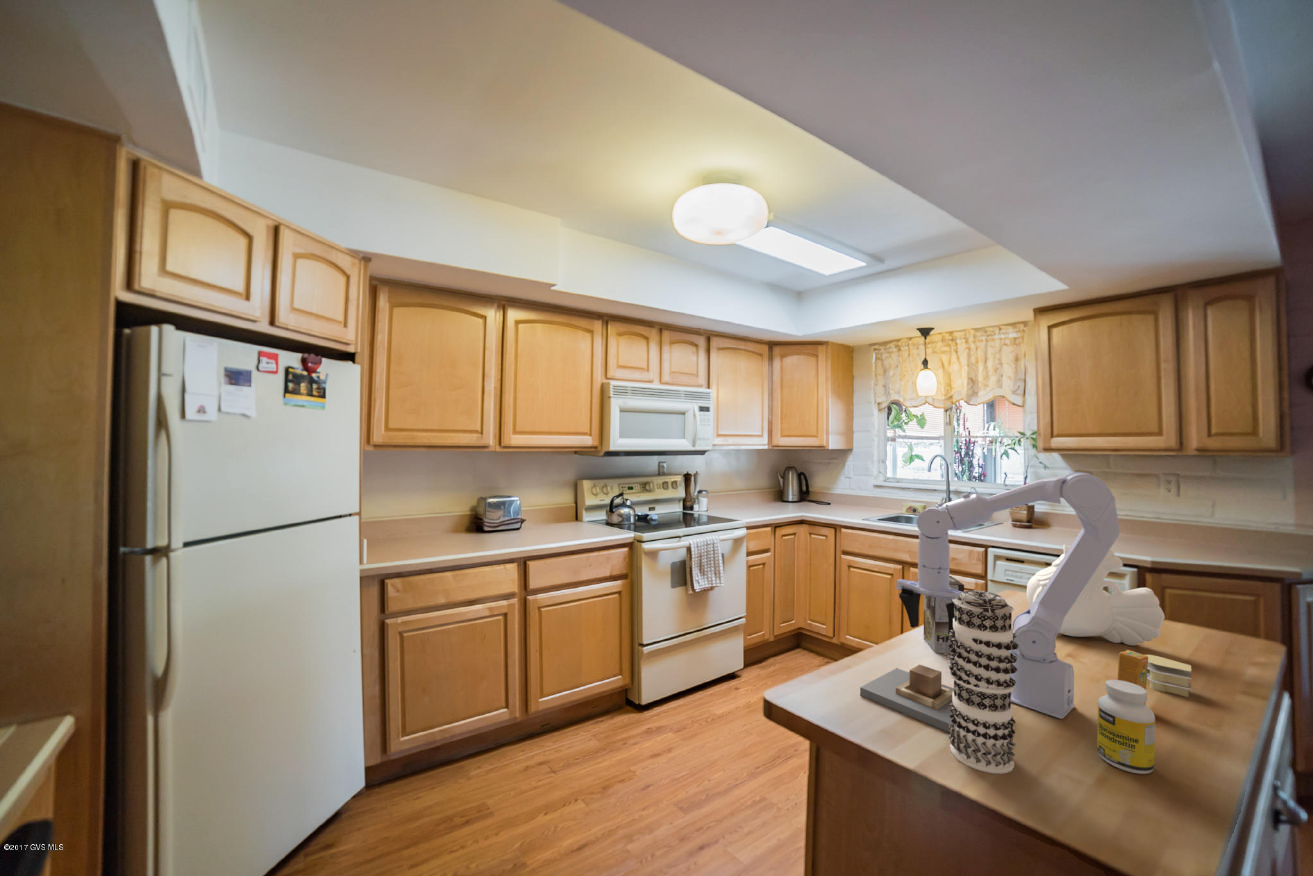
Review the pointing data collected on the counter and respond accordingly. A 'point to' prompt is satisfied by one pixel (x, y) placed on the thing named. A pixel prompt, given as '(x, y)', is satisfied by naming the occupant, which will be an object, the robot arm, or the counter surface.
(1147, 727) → the pill bottle
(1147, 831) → the counter surface
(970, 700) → the decorative candle
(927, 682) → the walnut block
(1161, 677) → the cream layered block
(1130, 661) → the supplement box
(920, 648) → the counter surface
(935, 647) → the coffee box
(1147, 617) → the decorative rooster
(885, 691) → the plate
